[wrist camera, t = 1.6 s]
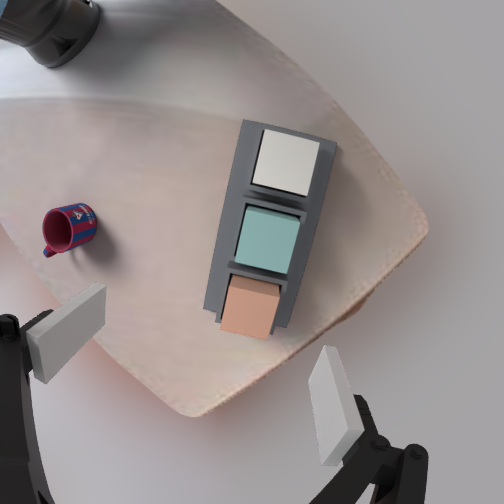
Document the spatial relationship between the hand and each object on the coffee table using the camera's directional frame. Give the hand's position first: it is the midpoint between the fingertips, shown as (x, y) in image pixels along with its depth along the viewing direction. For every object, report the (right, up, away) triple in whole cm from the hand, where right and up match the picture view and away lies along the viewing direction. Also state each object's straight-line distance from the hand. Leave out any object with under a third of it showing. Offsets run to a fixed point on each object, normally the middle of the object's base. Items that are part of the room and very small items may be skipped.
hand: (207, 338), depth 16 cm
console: (+5, +8, +26) cm, 27 cm away
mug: (-27, +9, +27) cm, 40 cm away
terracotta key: (+2, -1, +24) cm, 24 cm away
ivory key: (+6, +16, +19) cm, 26 cm away
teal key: (+4, +7, +22) cm, 23 cm away
